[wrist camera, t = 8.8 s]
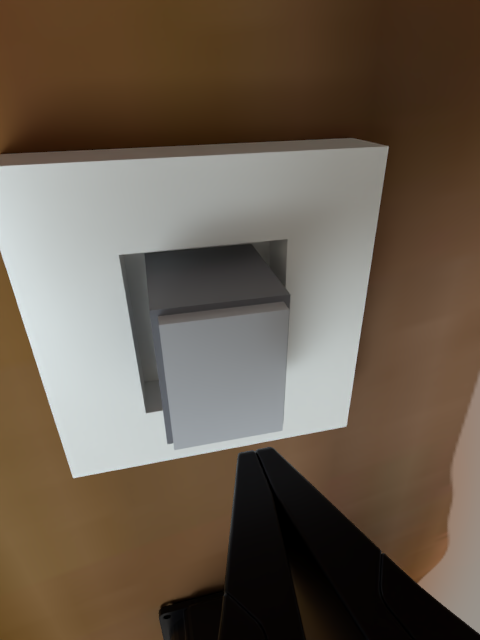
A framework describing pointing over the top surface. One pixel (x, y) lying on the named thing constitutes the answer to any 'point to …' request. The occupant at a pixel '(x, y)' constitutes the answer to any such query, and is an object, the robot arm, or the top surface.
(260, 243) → the socket plate
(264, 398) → the plug
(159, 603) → the top surface
